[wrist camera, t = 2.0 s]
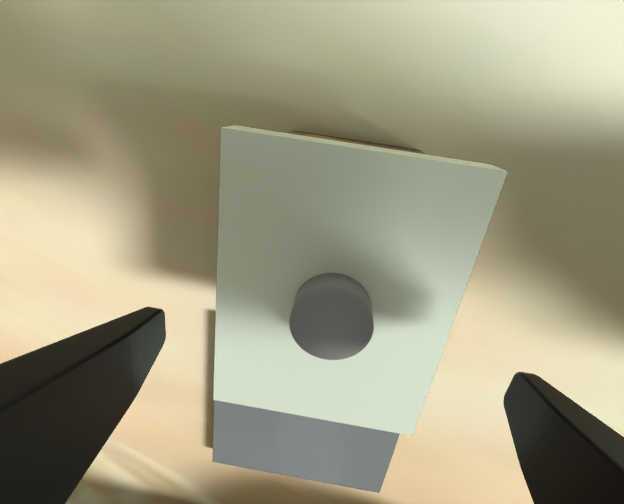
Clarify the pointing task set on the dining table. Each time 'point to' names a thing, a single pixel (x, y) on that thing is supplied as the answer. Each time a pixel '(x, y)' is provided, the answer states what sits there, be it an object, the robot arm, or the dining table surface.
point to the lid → (341, 273)
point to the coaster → (301, 446)
